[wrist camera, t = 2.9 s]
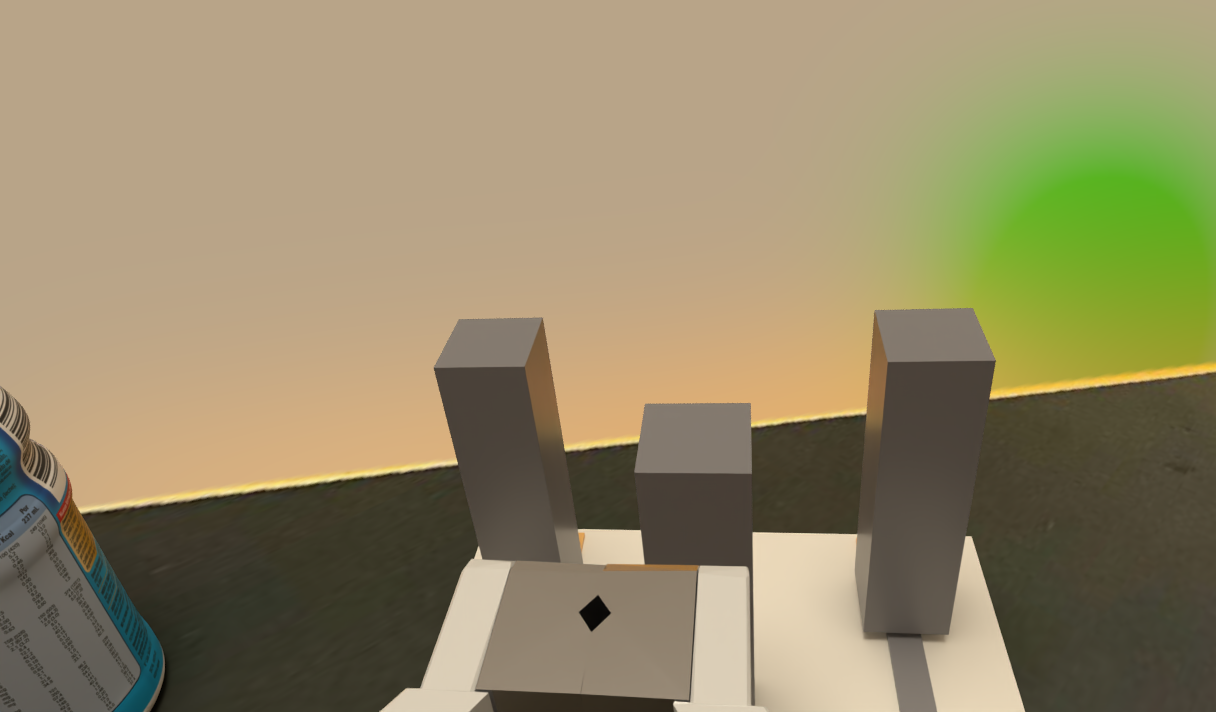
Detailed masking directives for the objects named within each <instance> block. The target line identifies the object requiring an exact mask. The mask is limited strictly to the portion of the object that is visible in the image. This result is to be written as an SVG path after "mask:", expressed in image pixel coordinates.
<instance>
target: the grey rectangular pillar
mask: <svg viewBox="0 0 1216 712" xmlns="http://www.w3.org/2000/svg"><path fill="white" fill-rule="evenodd" d="M635 482H636V491H637V500H638V509H639V518H640V527H641V536H642V545H643V554H644V563H645V564H646V565H699V568H700V566H745V567H748V570H749V584H750V645H751V706H755V678H754V605H753V532H752V461H751V404H750V403H705V404H703V403H700V404H645V407H644V414H643V421H642V427H641V434H640V440H639V447H638V453H637V460H636V466H635Z"/></svg>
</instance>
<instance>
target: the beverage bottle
mask: <svg viewBox="0 0 1216 712" xmlns="http://www.w3.org/2000/svg"><path fill="white" fill-rule="evenodd" d="M29 434H30V422H29V419H28V415H27V414H26V412H25V410H24V408H23V407H22V406H21V405H20V403H19V402H18V401H17V400H16V399H15V398H13V396H11V395H10V394H9V393H8V392H7V391H6V390H4V389H3V388H2V387H1V386H0V712H150V711H151V709H152V707H153V705H154V704H155V702H156V700H157V697H158V695H159V693H160V690H161V687H162V683H163V679H164V673H165V659H164V653H163V650H162V647H161V645H160V643H159V641H158V639H157V637H156V636H155V634H154V632H153V631H152V629H151V628H150V626H149V625H148V624H147V622H146V621H145V620H144V619H143V618H142V616H141V615H140V614H139V613H138V611H137V610H136V608H135V606H134V605H133V603H132V602H131V600H130V598H129V597H128V595H127V593H126V592H125V590H124V588H123V586H122V585H121V583H120V581H119V580H118V578H117V576H116V574H115V573H114V571H113V569H112V568H111V566H110V564H109V562H108V561H107V559H106V557H105V555H104V554H103V552H102V550H101V548H100V547H99V545H98V543H97V541H96V540H95V538H94V536H93V535H92V533H91V531H90V529H89V528H88V526H87V524H86V522H85V521H84V519H83V517H82V515H81V513H80V512H79V510H78V508H77V507H76V505H75V503H74V501H73V499H72V488H71V483H70V480H69V478H68V476H67V474H66V472H65V470H64V469H63V467H62V466H61V464H60V463H59V462H58V460H57V459H56V457H55V456H54V455H53V454H52V453H51V452H50V451H49V450H48V449H47V448H45V447H44V446H42V445H41V444H39V443H37V442H35V441H33V440H31V439H29Z"/></svg>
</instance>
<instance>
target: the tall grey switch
mask: <svg viewBox="0 0 1216 712" xmlns="http://www.w3.org/2000/svg"><path fill="white" fill-rule="evenodd" d="M995 362H996V360H995V358H994V356H993V353H992V351H991V349H990V346H989V344H988V342H987V340H986V337H985V335H984V333H983V331H982V329H981V326H980V324H979V321H978V319H977V317H976V315H975V312H974V310H973V308H962V309H961V308H957V309H912V310H875V313H874V325H873V338H872V351H871V364H870V378H869V390H868V403H867V416H866V428H865V441H864V454H863V467H862V480H861V493H860V506H859V519H858V532H857V545H856V558H855V577H856V584H857V591H858V598H859V605H860V612H861V619H862V626H863V632H884V633H911V634H939V635H949V630H950V624H951V618H952V612H953V607H954V601H955V595H956V589H957V583H958V577H959V572H960V566H961V560H962V554H963V548H964V543H965V537H966V531H967V525H968V519H969V513H970V508H971V502H972V496H973V490H974V484H975V478H976V473H977V467H978V461H979V455H980V449H981V444H982V438H983V432H984V426H985V420H986V414H987V409H988V403H989V397H990V391H991V385H992V379H993V373H994V367H995Z"/></svg>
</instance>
